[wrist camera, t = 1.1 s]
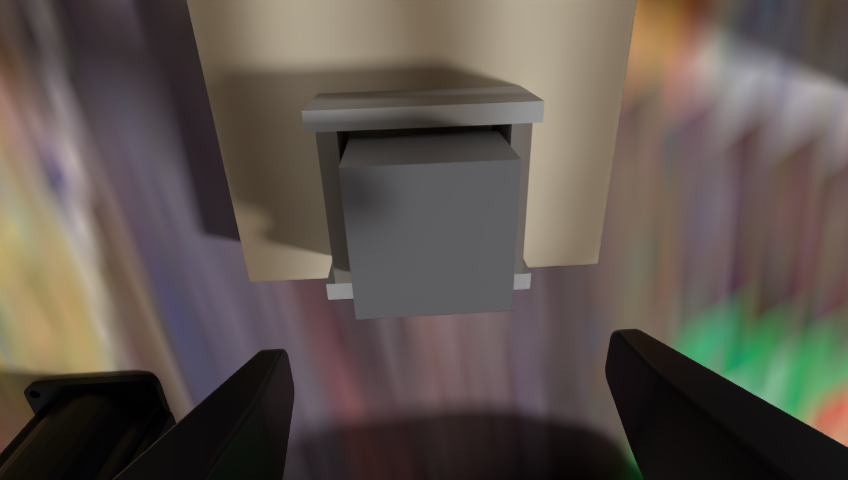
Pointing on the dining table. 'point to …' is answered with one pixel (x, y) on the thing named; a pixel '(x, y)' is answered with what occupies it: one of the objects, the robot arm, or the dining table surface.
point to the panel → (410, 112)
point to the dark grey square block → (430, 223)
